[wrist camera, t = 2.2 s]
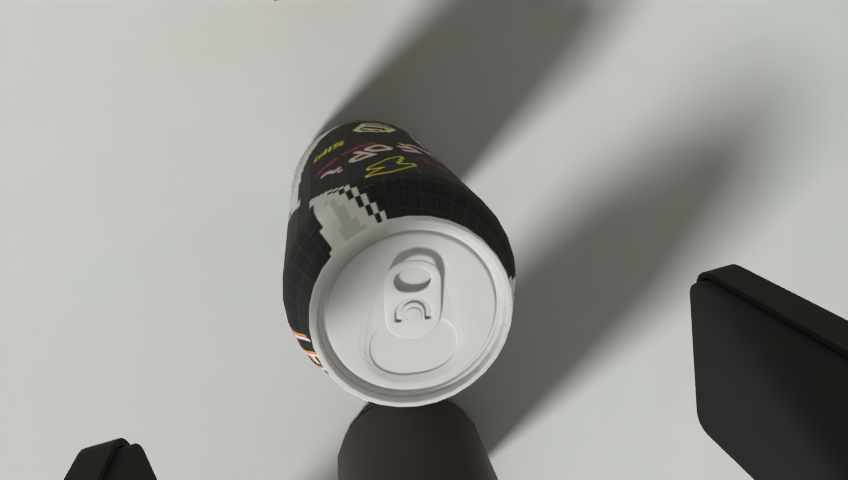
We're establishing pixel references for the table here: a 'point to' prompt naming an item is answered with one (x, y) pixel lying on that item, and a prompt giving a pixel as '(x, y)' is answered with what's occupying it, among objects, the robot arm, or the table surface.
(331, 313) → the beverage can
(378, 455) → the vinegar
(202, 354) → the table surface
